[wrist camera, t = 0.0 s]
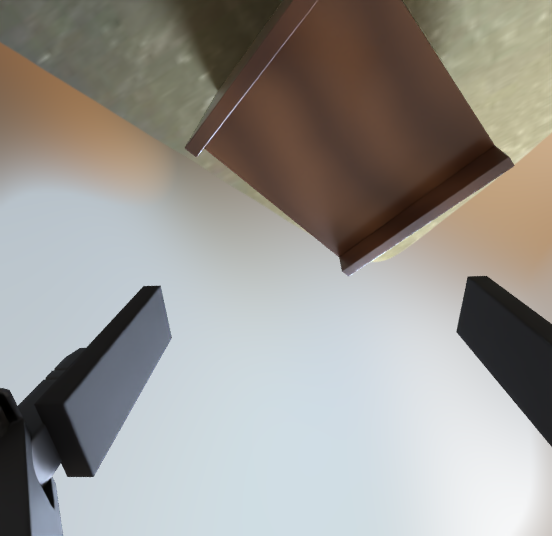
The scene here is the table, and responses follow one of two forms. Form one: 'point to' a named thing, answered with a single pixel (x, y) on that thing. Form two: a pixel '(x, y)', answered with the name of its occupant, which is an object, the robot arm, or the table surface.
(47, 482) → the robot arm
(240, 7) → the table surface
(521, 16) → the table surface
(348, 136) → the shelf
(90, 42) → the table surface
